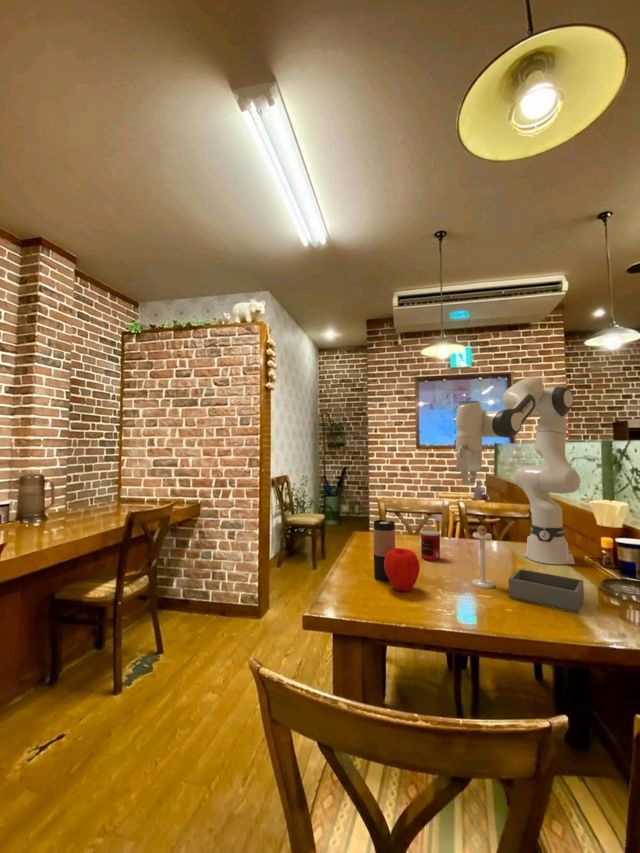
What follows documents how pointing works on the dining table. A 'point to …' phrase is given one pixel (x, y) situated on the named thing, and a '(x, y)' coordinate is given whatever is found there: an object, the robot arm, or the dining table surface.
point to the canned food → (430, 545)
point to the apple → (402, 568)
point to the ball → (482, 530)
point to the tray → (547, 590)
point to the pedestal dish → (482, 563)
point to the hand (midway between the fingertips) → (469, 484)
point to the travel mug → (382, 546)
